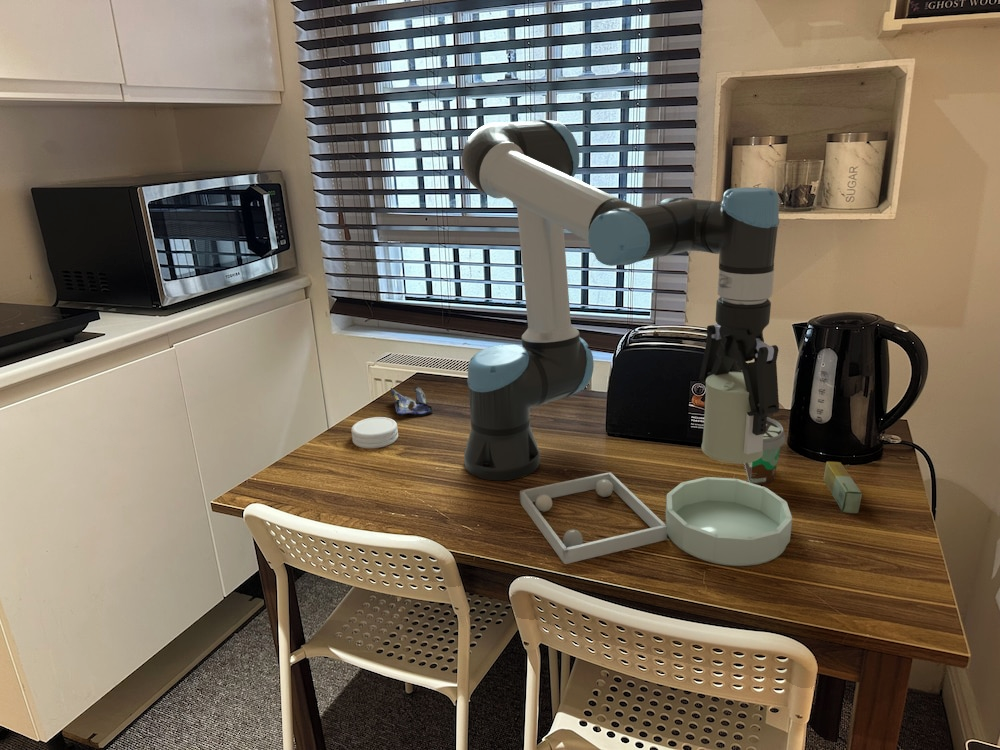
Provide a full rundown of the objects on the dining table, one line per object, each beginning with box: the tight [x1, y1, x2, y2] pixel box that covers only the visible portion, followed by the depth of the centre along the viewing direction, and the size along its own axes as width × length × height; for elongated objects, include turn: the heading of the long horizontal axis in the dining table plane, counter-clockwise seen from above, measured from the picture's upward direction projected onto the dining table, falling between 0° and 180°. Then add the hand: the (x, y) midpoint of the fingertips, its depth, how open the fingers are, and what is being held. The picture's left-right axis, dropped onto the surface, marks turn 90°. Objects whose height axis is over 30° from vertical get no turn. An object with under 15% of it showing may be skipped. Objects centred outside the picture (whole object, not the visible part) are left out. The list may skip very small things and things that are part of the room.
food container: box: [743, 416, 786, 486], centre depth 132 cm, size 12×6×10 cm, turn 168°
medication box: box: [822, 461, 863, 514], centre depth 125 cm, size 12×3×4 cm, turn 172°
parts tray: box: [519, 471, 668, 565], centre depth 120 cm, size 20×18×2 cm
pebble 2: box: [562, 528, 584, 548], centre depth 113 cm, size 3×3×3 cm
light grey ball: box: [594, 479, 614, 498], centre depth 128 cm, size 3×3×3 cm
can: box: [700, 371, 763, 465], centre depth 109 cm, size 9×9×12 cm
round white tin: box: [350, 416, 399, 450], centre depth 155 cm, size 10×10×4 cm
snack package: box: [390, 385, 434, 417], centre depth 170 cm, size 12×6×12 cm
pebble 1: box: [534, 494, 553, 513], centre depth 124 cm, size 3×3×3 cm
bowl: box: [665, 476, 793, 567], centre depth 115 cm, size 19×19×5 cm
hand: (733, 439), depth 110 cm, fingers closed on can, 9 cm apart
